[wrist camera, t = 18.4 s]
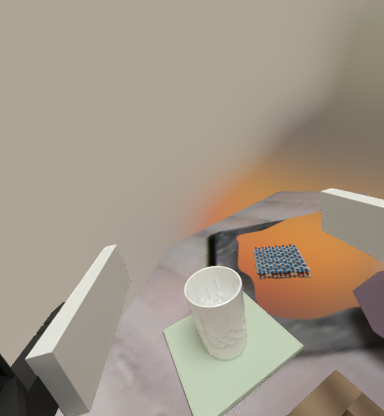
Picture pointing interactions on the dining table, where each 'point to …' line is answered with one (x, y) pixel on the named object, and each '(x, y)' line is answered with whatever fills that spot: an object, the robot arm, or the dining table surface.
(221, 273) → the white cup
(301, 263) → the woven mat
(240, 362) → the sage pad
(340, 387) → the brown square frame
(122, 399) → the dining table surface
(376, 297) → the flask
